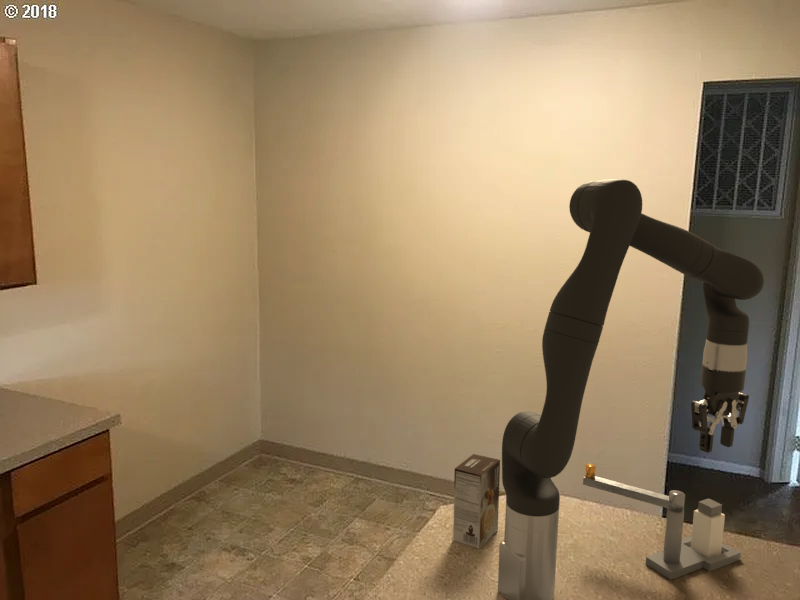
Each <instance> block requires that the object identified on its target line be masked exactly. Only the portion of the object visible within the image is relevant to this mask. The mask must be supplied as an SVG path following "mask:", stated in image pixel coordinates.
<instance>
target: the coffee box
mask: <svg viewBox="0 0 800 600" xmlns="http://www.w3.org/2000/svg"><path fill="white" fill-rule="evenodd" d="M500 468H501V459H499V458H493V457H489V456H485V455H481V454H475V453H473V454H472V455H470V456H469V457H468V458H466V459H465V460H463V462H461V463H459V464H458V465H457V466H456V467H455V468H454V475H453V477H454V479H453V481H454V484H453V485H454V486H453V490H454V492H453V532H452V533H453V535H452V537H453V538H452V540H453V541H454V542H457V543H460V544H464V545H467V546H470V547H473V548H477V549H479V550H480V549H481V548H482V547H483V546H484V545H485V544H486V543H487V542H488V541H489V540H490V539H491V538H492V537H493V535H494V534H495V533H496V532H497V531H498V529H499V507H500V506H499V504H500V502H499V500H500V479H501V478H500V475H501V474H500V472H501V469H500Z"/></svg>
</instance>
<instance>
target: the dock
mask: <svg viewBox="0 0 800 600" xmlns="http://www.w3.org/2000/svg"><path fill="white" fill-rule="evenodd" d="M684 518H685V510H684V511H682V512H675V511H672V510H670V509H668V508H666V519H665V520H666V521H665V531H664V532H665V533H664V541H663V550H662V551H658V552H656V553H653V554H651V555H647V556H645V565H647V566H648V567H650V568H652V569H653V570H655V571H656V572H658V573H659V574H661V575H662V576H664V577H666V578H667V579H669V580H674V579H676V578H680V577H681V576H685V575H687V574H691V573H692V572H695V571H698V570H700V569H705V570H707V571H708V572H712V571H714V570H717V569H719V568H723V567H724V566H727V565H729V564H732V563H735V562H737V561H740V560H741V556H742V552H741V551H739V550H737V549H736V548H733V547H732V546H730V545H727V544H726V543H724V542H722V549H721V554H719V555H717V556H714V557H711V558H707V557H706V556H704V555H702V554H700V553H699V552H697V551H695V550H693V549H692V548H690V547H691V538H692V534H691V535H688V536H685V537H683V529H684V520H685V519H684Z"/></svg>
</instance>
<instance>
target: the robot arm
mask: <svg viewBox="0 0 800 600" xmlns="http://www.w3.org/2000/svg"><path fill="white" fill-rule="evenodd" d="M642 197H643V195H642V193H641V191H640V189H639V187H638V185H636V184H635V182H633V181H631V180H628V179H623V178H622V179H621V178H620V179H619V178H618V179H616V178H614V179H610V178H609V179H597V180H591V181H587V182H584V183H583V184H580V186H578V187H577V188H576V189H575V190H574V192H573V193H572V195H571V197H570V200H569V214H570V216H571V218H572V221H573V222H574V224H575V225H576V226H577V227H578V228H580V229H581V230H583V231H585V232H587V233H589V235H588V239H587V242H586V245H585V248H584V251H583V254H582V257H581V259H580V261H579V263H578V264H577V265H576V267H575V269H574V270H573V271H572V273H571V274H570V275H569V277H568V278H567V280H565V282H564V284H563V285H562V286H561V287H560V289H559V290H558V292H557V294H556V295H555V296H554V299H553V300H552V303H551V306H550V309H549V312H548V314H547V319H546V322H545V326H544V329H543V334H542V339H541V341H542V342H541V344H542V345H541V347H542V359H543V365H544V372H545V379H546V381H545V382H546V393H545V399H544V403H543V407H542V411H541V414H538V413H536V412H534V411H530V410H529V411H521V412H518V413H516V414H514V415H513V417H512V418H511V419H510V420H509V421H508V422H507V424H506V426H505V428H504V431H503V434H502V435H503V436H502V440H501V441H502V442H501V479H502V480H501V481H502V486H503V490H504V492H505V516H504V517H505V518H504V519H505V520H504V539H503V540H504V541H502V542H499V546H498V547H499V552H498V554H499V555H498V571H497V572H498V574H497V575H498V576H497V577H498V578H497V591H498V592H499V593H500V594H501V595H502V596H503V597H505V599H507V600H554V599H555V598H554V597H555V587H556V569H557V553H558V551H557V549H558V537H559V534H558V532H559V519H560V518H559V516H560V503H561V502H560V501H561V500H560V492H559V489H558V487H557V486H556V485H555V483H554V482H553V480H552V478H554V477H556V476H558V475H559V474H561V473H562V472H563V471H564V469H566V466H567V464H568V463H569V461H570V459H571V456H572V454H573V450H574V446H575V443H576V442H575V441H576V438H577V437H576V436H577V432H578V425H579V419H580V414H581V409H582V403H583V399H584V395H585V391H586V387H587V384H588V380H589V379H588V378H589V376H590V372H591V368H592V364H593V361H594V358H595V355H596V351H597V349H598V346H599V343H600V339H601V335H602V332H603V329H604V325H605V321H606V318H607V314H608V313H607V312H608V309H609V305H610V302H611V299H612V296H613V292H614V290H615V287H616V284H617V280H618V277H619V275H620V271H621V269H622V266H623V263H624V261H625V258H626V255H627V253H628V250H629V248H634V249H636V250H638V251H640V252H642V253H644V254H645V255H647V256H650V257H651V258H653V259H655V260H656V261H659V262H660V263H662V264H664V265H666V266H667V267H670V268H672V269H673V270H675V271H677V272H679V273H681V274H683V275H684V276H686V277H688V278H690V279H693V280H696V281H700V282H702V290H703V299H704V303H705V310H706V314H707V326H706V327H707V328H706V329H707V330H706V336H705V337H706V339H705V345H704V347H703V355H702V366H701V376H700V385H701V386H702V388H703V389H704V394H703V397H702V399H701V400H699V401H698V400H692V402H691V403H690V406H691V425H692V426H691V427H692V430H694V431H698V432H699V434H700V435H699V445H698V446H699V449H700V451H701V452H704V453H707V454H709V453H712V451H713V445H714V432H715V429H716V426H717V425H718V424H720V422H721V423H722V425H721V430H720V438H719V439H720V442H719V444H720V445H721V446H724V447H727V448H731V447H733V444H734V443H733V442H734V436H735V430H736V429H737V428H738V425H742V424H744V420H745V416H746V412H747V408H748V404H749V398H750V395H749V394H747V393H742V392H743V391H744V389H745V382H746V374H747V373H746V371H747V362H748V339H749V338H748V337H749V330H750V317H749V315H748V313H746V312H744V311H743V310H741V309H740V308H739V307H738V306H737V302H736V300H740V301H741V300H742V301H746V300H750V299H753V298H755V297H756V296H758V295H759V294H760V292H762V290H763V287H764V283H765V278H764V275H763V274H764V273H763V272H762V271H761V269H760V268H759V266H757V264H755V263H753V262H752V261H751V260H748V259H746V258H745V257H741V256H740V255H739V256H738V255H736V254H734V253H731V252H729V251H726V250H723V249H722V248H718V247H716V246H715V245H713V244H712V243H710V242H708V241H707V240H706V239H703V238H702V237H700V236H699V235H696V234H694V233H693V232H690V231H689V230H686V229H685V228H682V227H679V226H677V225H674V224H671V223H667V222H664V221H661V220H659V219H657V218H654V217H652V216H649V215H647V214H644V213H642V212H643V198H642ZM708 415H709V416H708ZM710 416H713V417H710ZM708 422H710V423H709V426H708Z"/></svg>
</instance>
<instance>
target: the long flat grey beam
mask: <svg viewBox="0 0 800 600" xmlns="http://www.w3.org/2000/svg"><path fill="white" fill-rule="evenodd" d="M596 467H597V466H596V465H595V464H593V463H586V464H585V469H584V476H583V477H582V478H583V479H582V480H583V481H582V485H584V486H588V487H591V488H593V489H597V490H601V491H604V492H608V493H612V494H616V495H619V496H623V497H626V498H629V499H633V500H637V501H640V502H644V503H647V504H651V505H654V506H658V507H662V508H664V509H667V508H668V509H670V510H672V511H675V512H682V511H684V512H685V502H686V494H685V493H684V492H683V491H680V490H676V489H675V490H674V489H673V490H670V491H669V494H667V495H666V494H663V493H659V492H655V491H652V490H648V489H644V488H641V487H637V486H635V485H629V484H625V483H622V482H618V481H615V480H611V479H607V478H603V477H601V476H597V475H596V471H597V469H596Z"/></svg>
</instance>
